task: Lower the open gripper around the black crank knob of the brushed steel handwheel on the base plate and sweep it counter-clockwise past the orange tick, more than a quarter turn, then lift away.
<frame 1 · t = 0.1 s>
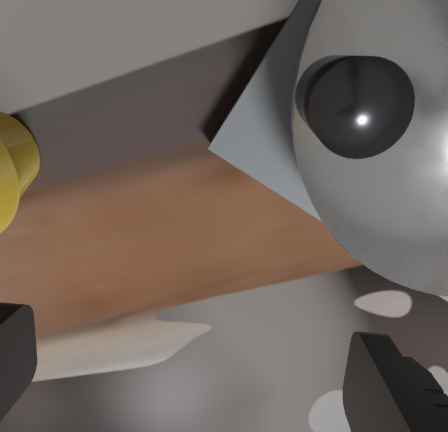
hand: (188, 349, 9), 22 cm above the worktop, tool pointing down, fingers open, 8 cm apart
plant pot: (4, 151, 31), on the worktop
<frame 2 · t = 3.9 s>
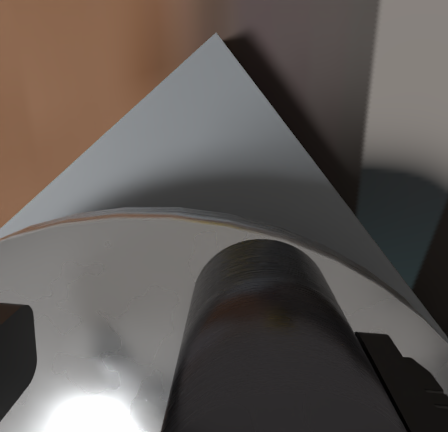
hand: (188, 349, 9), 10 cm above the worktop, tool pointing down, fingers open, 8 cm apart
wheel base: (188, 393, 21), on the worktop
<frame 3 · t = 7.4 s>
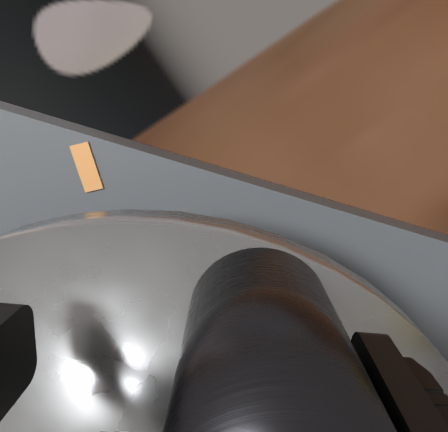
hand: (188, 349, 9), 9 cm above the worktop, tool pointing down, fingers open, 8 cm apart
wheel base: (178, 394, 21), on the worktop
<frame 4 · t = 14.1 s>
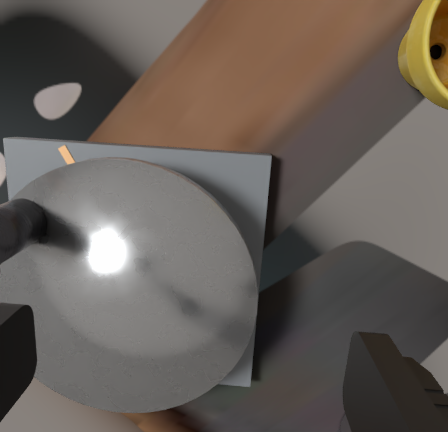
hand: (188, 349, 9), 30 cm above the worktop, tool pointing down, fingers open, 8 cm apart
plant pot: (431, 54, 35), on the worktop
wheel base: (141, 264, 42), on the worktop
handwheel: (110, 310, 32), point 10 cm above the worktop, hinge at 110.7°
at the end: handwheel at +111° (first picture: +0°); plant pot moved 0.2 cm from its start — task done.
